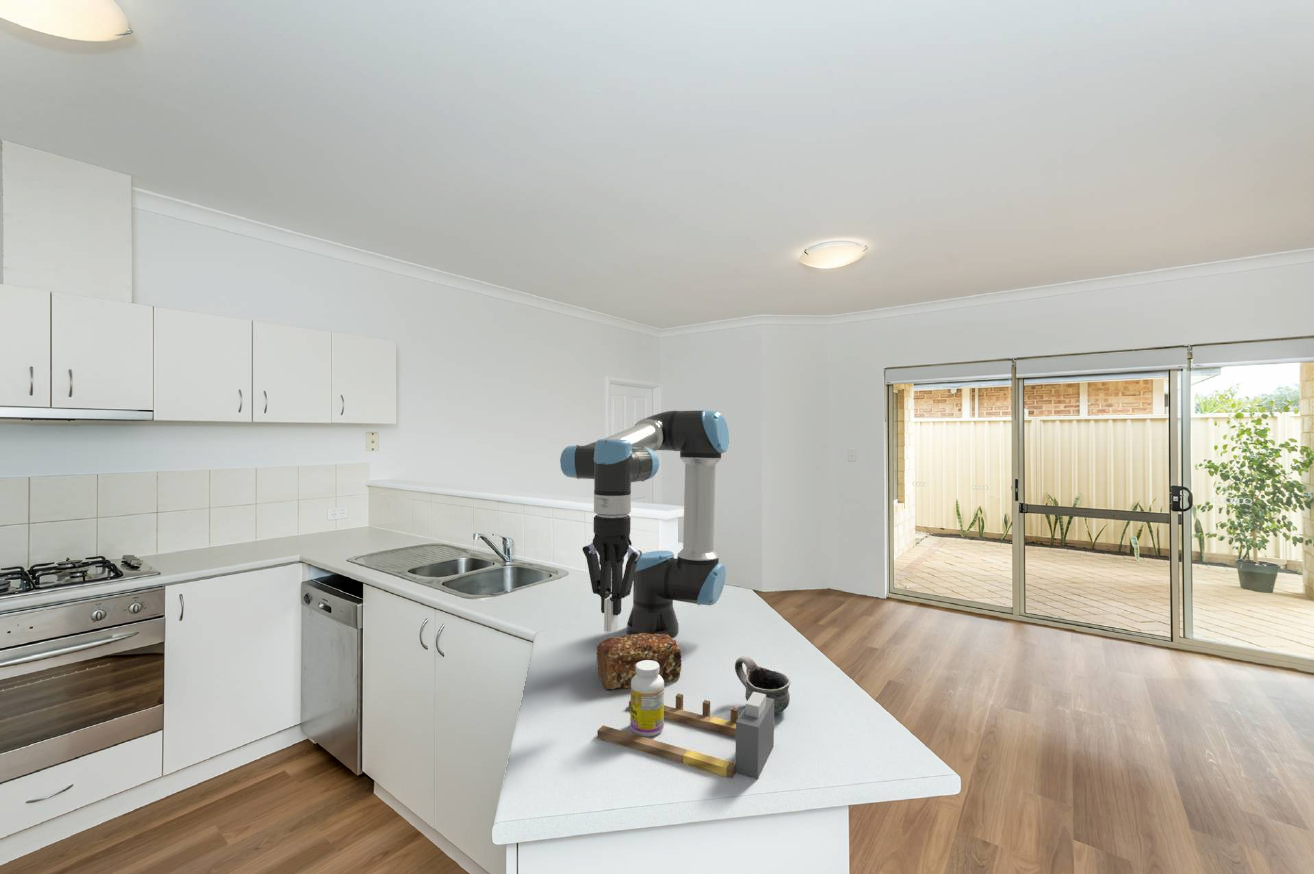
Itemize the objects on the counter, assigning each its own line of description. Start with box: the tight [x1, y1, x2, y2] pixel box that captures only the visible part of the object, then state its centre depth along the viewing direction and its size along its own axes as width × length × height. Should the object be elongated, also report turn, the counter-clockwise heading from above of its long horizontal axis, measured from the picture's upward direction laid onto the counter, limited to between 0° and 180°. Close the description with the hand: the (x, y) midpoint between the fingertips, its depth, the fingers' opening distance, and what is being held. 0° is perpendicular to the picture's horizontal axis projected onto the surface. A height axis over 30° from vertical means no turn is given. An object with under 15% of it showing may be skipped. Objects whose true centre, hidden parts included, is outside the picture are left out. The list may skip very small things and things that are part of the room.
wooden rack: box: [596, 693, 739, 779], centre depth 107 cm, size 27×16×4 cm, turn 64°
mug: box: [734, 655, 791, 716], centre depth 118 cm, size 10×12×10 cm
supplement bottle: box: [629, 660, 665, 738], centre depth 109 cm, size 7×7×13 cm
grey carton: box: [733, 692, 775, 780], centre depth 100 cm, size 4×11×11 cm, turn 154°
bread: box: [596, 633, 682, 691], centre depth 132 cm, size 19×11×10 cm, turn 109°
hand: (610, 629), depth 113 cm, fingers closed
